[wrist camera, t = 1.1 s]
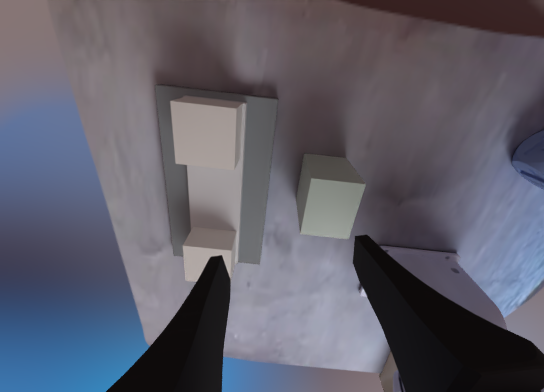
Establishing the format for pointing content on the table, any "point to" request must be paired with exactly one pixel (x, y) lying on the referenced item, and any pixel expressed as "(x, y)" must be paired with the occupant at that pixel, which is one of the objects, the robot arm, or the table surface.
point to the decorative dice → (531, 159)
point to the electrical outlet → (388, 374)
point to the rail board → (216, 173)
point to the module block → (328, 196)
